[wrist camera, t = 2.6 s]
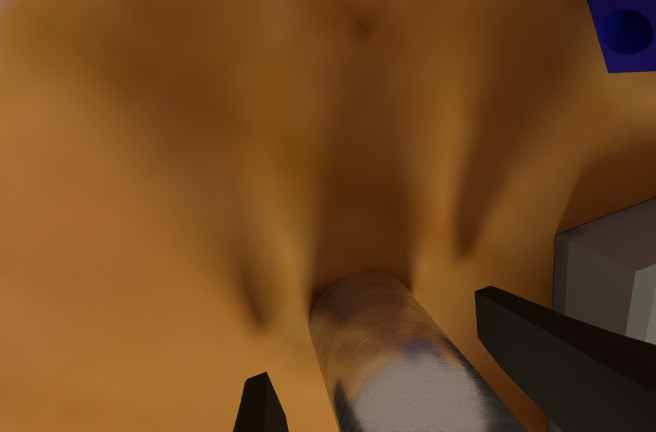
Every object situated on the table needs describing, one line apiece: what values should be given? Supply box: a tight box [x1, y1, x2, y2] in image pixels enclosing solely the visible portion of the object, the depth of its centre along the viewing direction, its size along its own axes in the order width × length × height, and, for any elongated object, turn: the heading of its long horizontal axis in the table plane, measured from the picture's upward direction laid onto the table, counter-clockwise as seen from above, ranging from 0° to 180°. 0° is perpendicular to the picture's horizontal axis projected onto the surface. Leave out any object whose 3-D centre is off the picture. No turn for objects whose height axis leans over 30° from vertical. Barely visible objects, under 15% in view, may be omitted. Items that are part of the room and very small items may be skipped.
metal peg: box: [309, 270, 528, 432], centre depth 10 cm, size 4×4×6 cm
